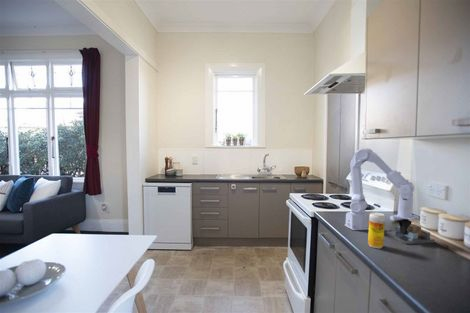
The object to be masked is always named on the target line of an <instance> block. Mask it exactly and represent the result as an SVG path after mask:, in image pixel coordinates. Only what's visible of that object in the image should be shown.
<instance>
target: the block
mask: <svg viewBox="0 0 470 313" xmlns="http://www.w3.org/2000/svg"><path fill="white" fill-rule="evenodd" d="M408 229H409V230H411V231H414V232H416V233H418V237H421V229H422V226H421V225H418V224H415V223H411V224H410V226H409V227H408Z"/></svg>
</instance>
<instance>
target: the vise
mask: <svg viewBox="0 0 470 313" xmlns="http://www.w3.org/2000/svg"><path fill="white" fill-rule="evenodd" d="M385 236H388V237H390V238H392V239H394V240H396V241H397V242H400V243H402V244H404V245H415V244H417V245H418V244H432V243H433V244H435V239H434V238H433V237H432V238H431V232H429V231H427V230H424V229H422V228H421V237H418V239H415V240H413V239H411V238H408V237H406V236H404V235H402V234H400V233H397V232H396V230H395V231H394V230H393V231H392V230H391V231H385Z"/></svg>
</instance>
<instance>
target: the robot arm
mask: <svg viewBox="0 0 470 313" xmlns="http://www.w3.org/2000/svg"><path fill="white" fill-rule="evenodd" d="M353 154H354V155H353V156H352V158H351V161H350V163H349V166H350V168H349V169H350V178H351V179H350V180H351V189H352V190H351V191H352V196H351V202H350V204H349V209H350V211H348V212H346V214H345V224H344V226H345V227H346V228H348V229H350V230H353V231H363V230H364V231H365V230H366V231H369V227H367V226H366V215H367V212H366V209H367V208H368V202H367V201H366V197H365V195H364V190H363V188H364V187H363V177H362V165H363V164H364V163H365V162H369V163H373V164H374V165H375V166H377V167H378V168H379V169H380V170H382V171H383V173H385V175H386V179H387V180H388V181H389V182H390V183H391V184H392V185H393V186H394V187H396V188H397V190H398V193H399V194H398V195H399V196H398V206H397V214H393V215H392V214H391V215H390V216H389V220H391V221H394V222H395V221H397V223H398V226H400V233H401V234H403V235H406V233H407V229H408V227H409V226H410V224H413V223H412V220H413V221H414V220H416V221H419V220H420V216H419V215H417V214H413V204H414V198H413V197H414V192H415V186H414V184H413V183H411V182H410V180H409V179H406V178H405V177H404V176H403V175H402V172H401V171H397V170H396V169H392V168H391V167H390V166H389V165H388V164H387V163H386V162H385V161H384V160H383V159H382V158H381V157H380V156H379V155H378V153H376V152H375V151H373V150H372V149H371V148H368V147H367V148H359V149H358V150H356V151H355V152H354V153H353Z"/></svg>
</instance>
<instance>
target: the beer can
mask: <svg viewBox="0 0 470 313" xmlns="http://www.w3.org/2000/svg"><path fill="white" fill-rule="evenodd" d="M385 223H386V217H385V214H384V213H381V212H377V211H376V212H374V211H372V212H370V213H369V219H368V235H367V244H368V245H369V247H371V248H373V249H382V248H383V247H384V242H385V239H384V238H385Z"/></svg>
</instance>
